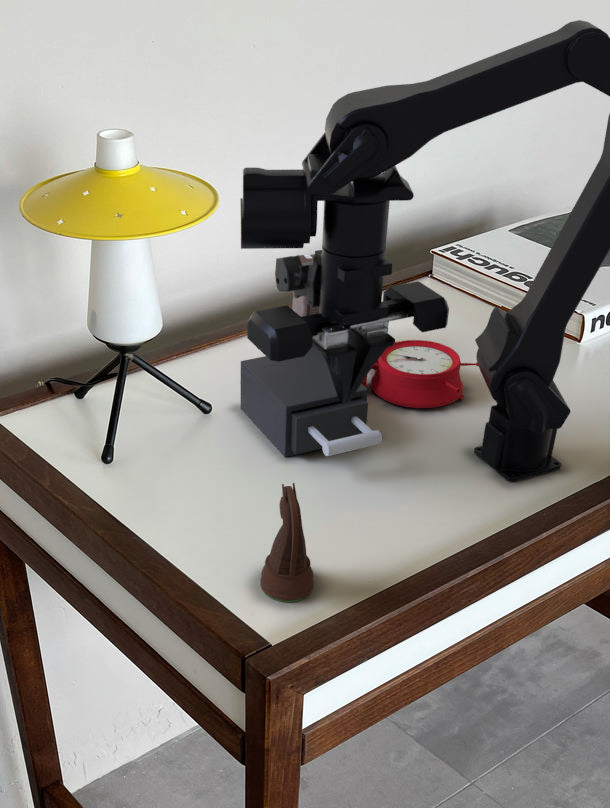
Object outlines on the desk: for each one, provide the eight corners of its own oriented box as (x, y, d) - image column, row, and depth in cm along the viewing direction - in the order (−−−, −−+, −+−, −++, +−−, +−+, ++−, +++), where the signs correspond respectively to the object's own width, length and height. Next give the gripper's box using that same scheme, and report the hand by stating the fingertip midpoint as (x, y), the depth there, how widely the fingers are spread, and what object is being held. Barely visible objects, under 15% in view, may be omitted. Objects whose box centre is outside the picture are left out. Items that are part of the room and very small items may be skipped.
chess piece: (307, 566, 89) (311, 471, 84) (320, 603, 85) (325, 505, 80) (256, 572, 89) (257, 476, 83) (266, 609, 85) (268, 510, 79)
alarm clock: (459, 391, 108) (335, 335, 112) (440, 437, 112) (321, 382, 116) (487, 353, 116) (371, 302, 120) (469, 398, 120) (356, 347, 124)
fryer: (364, 438, 108) (368, 389, 104) (284, 457, 105) (286, 407, 101) (315, 392, 116) (317, 345, 113) (240, 408, 113) (240, 360, 110)
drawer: (389, 460, 102) (393, 424, 100) (317, 478, 100) (319, 441, 97) (319, 395, 114) (321, 361, 112) (253, 409, 111) (253, 375, 109)
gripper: (397, 206, 100) (384, 350, 109) (223, 233, 94) (225, 383, 103) (461, 242, 92) (442, 395, 100) (274, 274, 85) (271, 434, 94)
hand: (344, 400), depth 100 cm, fingers closed
